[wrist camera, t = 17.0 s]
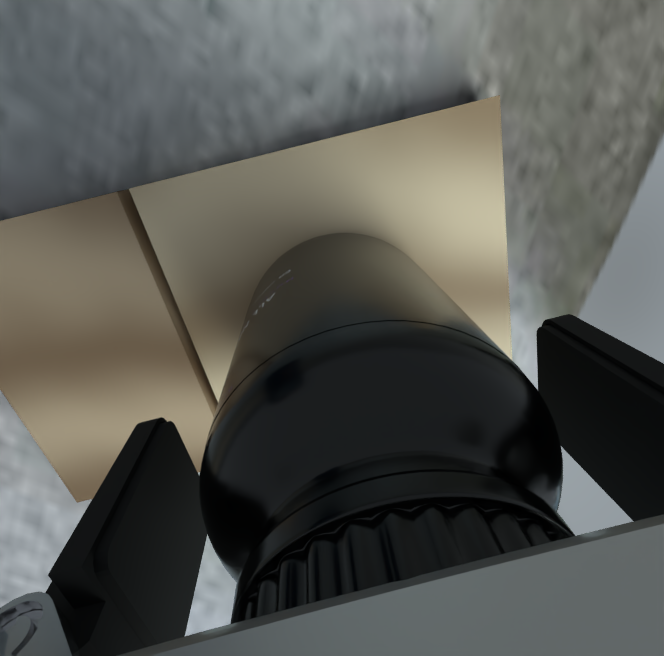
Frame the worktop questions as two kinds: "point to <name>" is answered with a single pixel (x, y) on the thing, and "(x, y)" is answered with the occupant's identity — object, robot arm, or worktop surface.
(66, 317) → the laid board
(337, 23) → the worktop surface
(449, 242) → the plank
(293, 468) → the supplement bottle
